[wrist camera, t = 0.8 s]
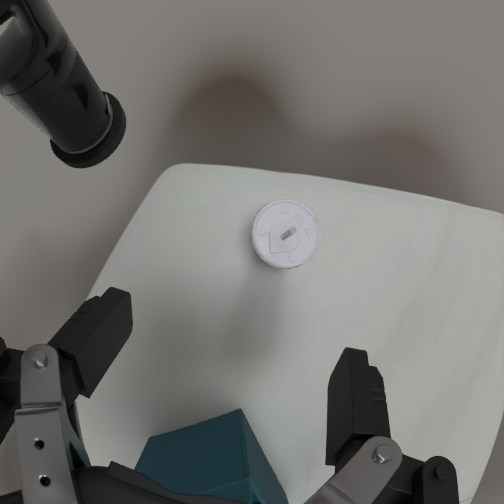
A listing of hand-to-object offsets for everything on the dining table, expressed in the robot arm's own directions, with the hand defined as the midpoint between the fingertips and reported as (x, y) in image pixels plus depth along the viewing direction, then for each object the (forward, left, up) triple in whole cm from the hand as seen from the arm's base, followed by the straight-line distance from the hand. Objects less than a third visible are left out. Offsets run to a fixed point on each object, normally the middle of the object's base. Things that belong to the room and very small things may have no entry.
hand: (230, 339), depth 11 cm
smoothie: (+2, +8, -27) cm, 28 cm away
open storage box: (+9, -22, -27) cm, 36 cm away
